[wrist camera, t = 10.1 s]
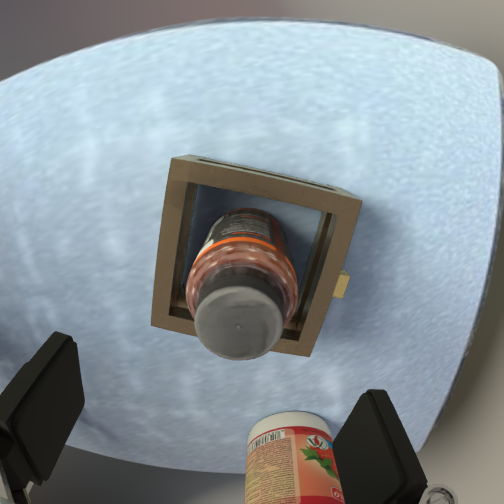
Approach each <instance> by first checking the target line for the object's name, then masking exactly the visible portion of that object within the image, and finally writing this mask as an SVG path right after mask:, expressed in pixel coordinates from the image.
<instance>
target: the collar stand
mask: <svg viewBox="0 0 504 504" xmlns="http://www.w3.org/2000/svg"><path fill="white" fill-rule="evenodd" d="M198 184H202V185H207V186H212V187H217V188H222V189H227V190H232V191H237V192H242V193H246V194H251V195H256V196H260V197H265V198H269V199H274V200H278V201H282V202H287V203H291V204H295V205H300V206H304V207H308V208H312V209H316V210H320V211H322V214H321V218H320V221H319V225H318V229H317V232H316V236H315V239H314V243H313V246H312V250H311V253H310V257H309V260H308V264H307V267H306V270H305V274H304V277H303V280H302V284H301V287H300V290H299V294H298V301H297V306H296V309H295V312H294V314H293V316H292V318H291V320H290V321H289V323H288V324H287V325H286V326H285V327H284V328H283V332H282V335H281V337H280V339H279V341H278V343H277V344H276V345H275V346H274V348H272V349H271V350H270V351H274V352H280V353H286V354H292V355H299V356H306V357H310V355H311V353H312V350H313V347H314V345H315V342H316V340H317V337H318V334H319V332H320V329H321V326H322V324H323V321H324V318H325V316H326V313H327V310H328V307H329V305H330V302H331V299H332V297H336V298H343V295H344V293H345V290H346V287H347V284H348V281H349V278H350V276H349V274H348V273H347V271H345V270H342V266H343V263H344V260H345V257H346V254H347V251H348V248H349V245H350V241H351V238H352V235H353V232H354V228H355V225H356V221H357V218H358V215H359V211H360V208H361V204H362V200H360V199H359V198H357V197H355V196H354V195H352V194H350V193H349V192H347V191H345V190H343V189H342V188H338V187H334V186H330V185H323V184H320V183H316V182H312V181H308V180H304V179H300V178H296V177H291V176H287V175H283V174H279V173H274V172H270V171H265V170H261V169H256V168H252V167H247V166H242V165H237V164H232V163H228V162H222V161H217V160H212V159H207V158H205V157H201V156H195V155H184V156H179V157H174V158H171V163H170V169H169V174H168V180H167V187H166V193H165V199H164V206H163V213H162V220H161V227H160V235H159V243H158V252H157V260H156V270H155V280H154V291H153V302H152V315H151V326H154V327H158V328H162V329H166V330H170V331H175V332H179V333H183V334H188V335H192V336H196V337H198V336H197V333H196V330H195V325H194V318H193V317H192V315H191V313H190V310H189V308H188V305H187V302H186V289H183V286H184V284H182V282H183V275H184V268H185V261H186V255H187V248H188V242H189V236H190V229H191V223H192V218H193V212H194V206H195V200H196V195H197V189H198Z"/></svg>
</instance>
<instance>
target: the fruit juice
mask: <svg viewBox="0 0 504 504" xmlns="http://www.w3.org/2000/svg"><path fill="white" fill-rule="evenodd" d="M332 445H333V439H332V434H331V431H330V429H329V426H328V425H327V423H326V422H325V421H324V420H323V419H321V418H320V417H318V416H316V415H314V414H311V413H306V412H298V411H292V412H282V413H277V414H274V415H271V416H268V417H266V418H264V419H262V420H260V421H259V422H258V423H256V424H255V425H254V426H253V428H252V429H251V431H250V433H249V436H248V440H247V458H246V483H245V504H345V502H344V497H343V493H342V488H341V484H340V480H339V476H338V471H337V467H336V463H335V459H334V455H333V450H332Z"/></svg>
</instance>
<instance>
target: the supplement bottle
mask: <svg viewBox="0 0 504 504" xmlns="http://www.w3.org/2000/svg"><path fill="white" fill-rule="evenodd" d="M297 301H298V284H297V279H296V274H295V271H294V267H293V262H292V259H291V255H290V251H289V247H288V243H287V240H286V236H285V234H284V232H283V230H282V228H281V226H280V225H279V224H278V222H277V221H276V220H275V219H274V218H273V217H271V216H270V215H269V214H267V213H265V212H263V211H261V210H257V209H253V208H239V209H235V210H232V211H230V212H228V213H226V214H224V215H223V216H222V217H220V218H219V219H218V220H217V221H216V223H215V224H214V225H213V226H212V228H211V230H210V232H209V233H208V236H207V237H206V240H205V242H204V244H203V246H202V248H201V250H200V251H199V253H198V256H197V258H196V260H195V262H194V264H193V266H192V268H191V270H190V273H189V276H188V280H187V283H186V302H187V305H188V308H189V310H190V313H191V315H192V317H193V318H194V325H195V330H196V333H197V336H198V338H199V339H200V341H201V342H202V344H203V345H204V346H205V347H206V348H207V349H208V350H210V351H211V352H213V353H214V354H216V355H218V356H220V357H223V358H226V359H230V360H249V359H255V358H257V357H260V356H262V355H264V354H266V353H267V352H268V351H270V350H271V349H272V348H274V346H275V345H276V344H277V343H278V341H279V339H280V337H281V335H282V332H283V328H284V327H285V326H286V325H287V324H288V323H289V321H290V320H291V318H292V316H293V314H294V312H295V309H296V306H297Z"/></svg>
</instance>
